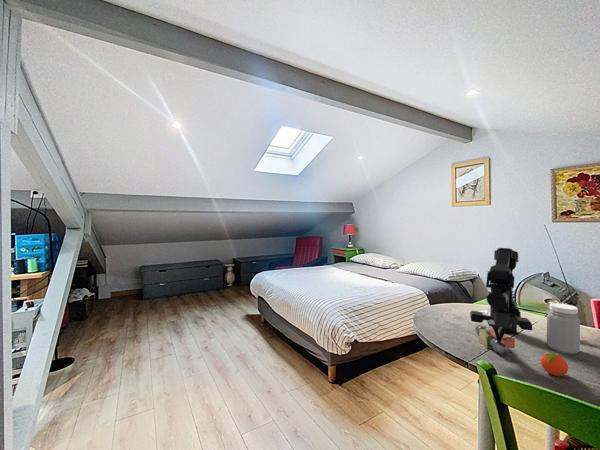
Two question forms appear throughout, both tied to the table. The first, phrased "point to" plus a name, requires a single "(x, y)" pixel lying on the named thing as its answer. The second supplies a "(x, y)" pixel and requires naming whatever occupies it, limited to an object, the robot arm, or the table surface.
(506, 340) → the lever
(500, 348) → the pipe valve
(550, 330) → the jar
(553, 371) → the clementine
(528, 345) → the table surface
